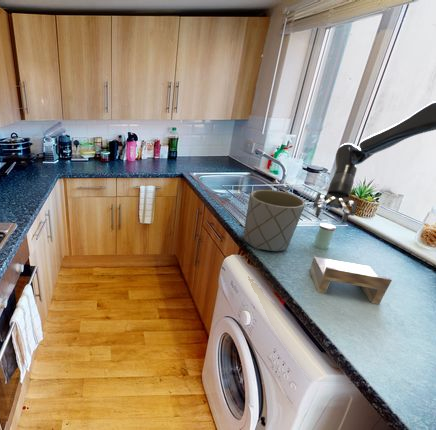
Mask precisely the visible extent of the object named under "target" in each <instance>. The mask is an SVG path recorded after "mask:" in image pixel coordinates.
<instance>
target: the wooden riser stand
mask: <svg viewBox="0 0 436 430" xmlns="http://www.w3.org/2000/svg"><path fill="white" fill-rule="evenodd" d="M312 258H313V259H312V261H311V264H310V267H309V269H308V272H309V274H310V277H311V279H312V281H313V284H314V286H315V287H316V290H317V292H319V293H323V294H326V292H327V290H328V287H329V285H330V284H331V281H333V282H337V283H343V284H347V285H353V286H358V287H360V288H361V290H362V291H363V293H364V294H365V295H366V297H367V298H368V300H369V301H370V303H371V304H376V305H380V304H381V302H382V300H383V298H384V296H385V295H386V293H387V290H388V289H389V286H390V285H391V283H392V281H393V279H391V278H390V277H386V276H380V275H377V273H376V272H375V271H374V269H373V268H372V267H371V265H364V264H359V263H354V262H347V261H342V260H335V259H330V258H324V257H319V256H313V257H312Z"/></svg>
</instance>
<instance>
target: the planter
mask: <svg viewBox="0 0 436 430" xmlns="http://www.w3.org/2000/svg"><path fill="white" fill-rule="evenodd" d="M305 206H306V201H305V200H304V199H303V198H301V197H299V196H297V195H295V194H293V193H289V192H285V191H280V190H273V189H257V190H252V191H251V192H250V193H249V198H248V203H247V210H246V216H245V222H244V228H243V235H242V237H243V240H244V241H245V242H246V243H247V244H248V245H249V246H251V248H254V249H255V250H256V251H257V250H264V251H272V252H280V251H287V249H288V248H289V246H290V243H291V240H292V239H293V236H294V233H295V231H296V228H297V226H298V224H299V221H300V219H301V216H302V214H303V211H304V210H305V209H304V208H305Z"/></svg>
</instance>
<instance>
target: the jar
mask: <svg viewBox="0 0 436 430" xmlns="http://www.w3.org/2000/svg"><path fill="white" fill-rule="evenodd" d="M336 230H337V227H336V226H335V225H334V224H330V223H324V222H322V223H319V227H318V230H317V231H316V235H315V239H314V241H313V243H312V245H313V246H314V247H315V248H318V249H321V250H328V249H329V247H330V244H331V242H332V239H333V237H334V234H335V232H336Z"/></svg>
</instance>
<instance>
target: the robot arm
mask: <svg viewBox="0 0 436 430" xmlns="http://www.w3.org/2000/svg"><path fill="white" fill-rule="evenodd" d="M431 131H436V101H432V102H431V103H429V104H427V105H426V106H424V107H422V108H421V109H419V110H418V111H416V112H415V113H413V114H412V115H410V116H408V117H407V118H405V119H403V120H402V121H400V122H399V123H396V124H394V125H392V126H390V127H388V128H386V129H383V130H381V131H379V132H377V133H374V134H372V135H370V136H368V137H366V138H364V139H362V140H361V141H360V143H359V146H357V145H355V144H353V143H350V142H346V143H344V144H341V145H340V146H339V147H338V149H337V150H336V152H335V171H334V173H333V176H332V178H331V180H330V183H329V186H328V189H327V192H326V194H325V195H324V194H322V193H321V192H318V193H316V196H315V198H314V199H315V200H314V201H313V203H312V207H313V208H315V209H316V211H315V213H314V215H315V217H316V218H319V216H320V214H321V210H323V208H326V207H328V208H334V209H340V211H341V212H342V213H343V215H342V217H341V220H340V221H341V222H340V223H341V224H344V223H346V222H347V221H348V218H349V216H350V217H351V216H352V217H353V216H355V214H356V212H357V208H358V207H357V206H358V202H359V200H357V199H355V200H350V196H351V192H352V189H353V187H354V181H355V177H356V173H357V170H358V168H357V166H359V165H360V164H362V163H364V162H365V161H366V160H368V159H369V158H371V157H372V156H373V155H374V154H377V153H379V152H382V151H384V150H387V149H389V148H391V147H393V146H395V145H397V144H399V143H400V142H403V141H404V140H406V139H409V138H411V137H414V136H417V135H420V134H421V135H422V134H424V133H428V132H431ZM322 199H323V200H324V201H323V202H321V203H319V201H321V200H322ZM318 203H319V204H318ZM348 204H349V206H350V207H351V210H349V208H348V206H347V205H348Z"/></svg>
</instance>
